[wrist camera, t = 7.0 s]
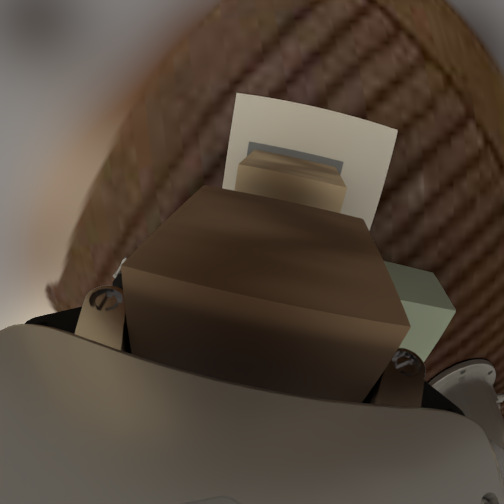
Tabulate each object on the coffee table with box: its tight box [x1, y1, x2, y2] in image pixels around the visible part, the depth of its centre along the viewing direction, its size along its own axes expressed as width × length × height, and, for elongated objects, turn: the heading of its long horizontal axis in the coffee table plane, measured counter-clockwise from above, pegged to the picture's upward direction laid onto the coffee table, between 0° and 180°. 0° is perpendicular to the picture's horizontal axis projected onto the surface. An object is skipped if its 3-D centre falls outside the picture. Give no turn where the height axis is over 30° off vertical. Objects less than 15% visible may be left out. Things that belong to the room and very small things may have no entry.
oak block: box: [234, 150, 347, 213], centre depth 20 cm, size 6×6×6 cm
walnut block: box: [121, 185, 411, 403], centre depth 10 cm, size 6×6×6 cm
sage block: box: [384, 261, 456, 363], centre depth 24 cm, size 6×6×6 cm
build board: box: [222, 93, 398, 231], centre depth 23 cm, size 12×14×1 cm
